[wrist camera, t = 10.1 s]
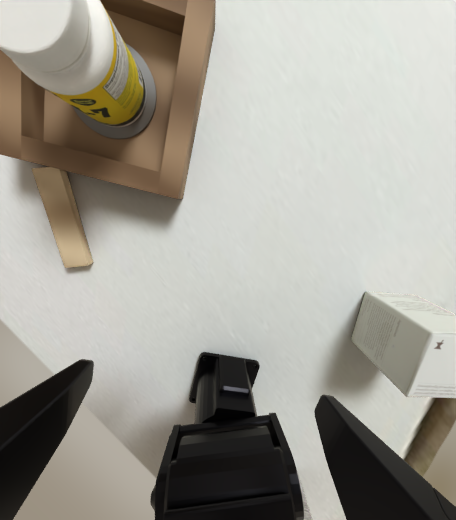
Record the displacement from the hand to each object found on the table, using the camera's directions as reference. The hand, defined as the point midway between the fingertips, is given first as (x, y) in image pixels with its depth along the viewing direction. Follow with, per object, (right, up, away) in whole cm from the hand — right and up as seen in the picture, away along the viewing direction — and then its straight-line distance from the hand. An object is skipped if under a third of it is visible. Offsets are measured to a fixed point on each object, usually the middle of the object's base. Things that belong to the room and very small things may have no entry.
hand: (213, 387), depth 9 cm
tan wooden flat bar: (-13, +8, +10) cm, 18 cm away
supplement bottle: (-7, +17, +7) cm, 20 cm away
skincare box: (+17, -1, +15) cm, 23 cm away
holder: (-8, +17, +8) cm, 20 cm away
